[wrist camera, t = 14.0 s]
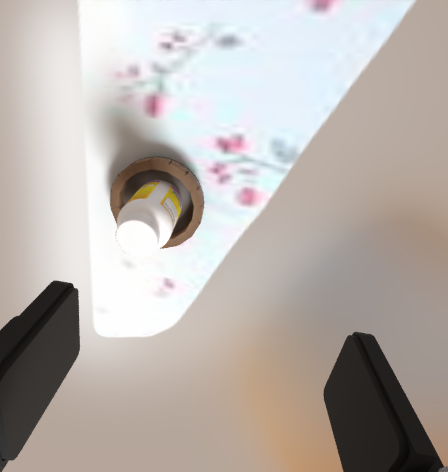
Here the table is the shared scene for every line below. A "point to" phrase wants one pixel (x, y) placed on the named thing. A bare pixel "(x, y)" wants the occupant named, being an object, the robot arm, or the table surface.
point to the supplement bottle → (148, 218)
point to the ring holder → (172, 173)
